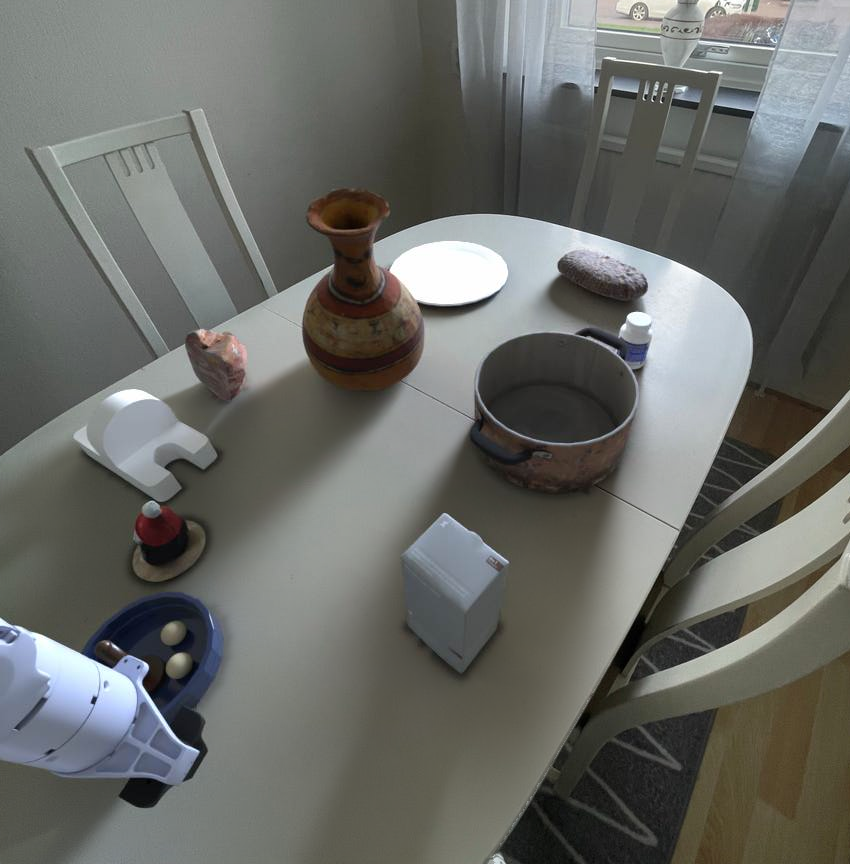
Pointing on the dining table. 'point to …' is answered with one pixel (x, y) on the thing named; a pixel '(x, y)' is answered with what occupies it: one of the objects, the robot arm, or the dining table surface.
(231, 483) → the dining table surface
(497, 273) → the plate
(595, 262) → the decorative stone
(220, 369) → the stone
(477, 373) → the saucepan
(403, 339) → the ceramic pitcher
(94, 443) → the tape dispenser
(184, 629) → the dumpling
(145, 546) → the figurine
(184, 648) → the bowl
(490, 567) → the cosmetic box
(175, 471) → the dining table surface
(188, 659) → the dumpling
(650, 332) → the pill bottle
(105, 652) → the brown plunger
